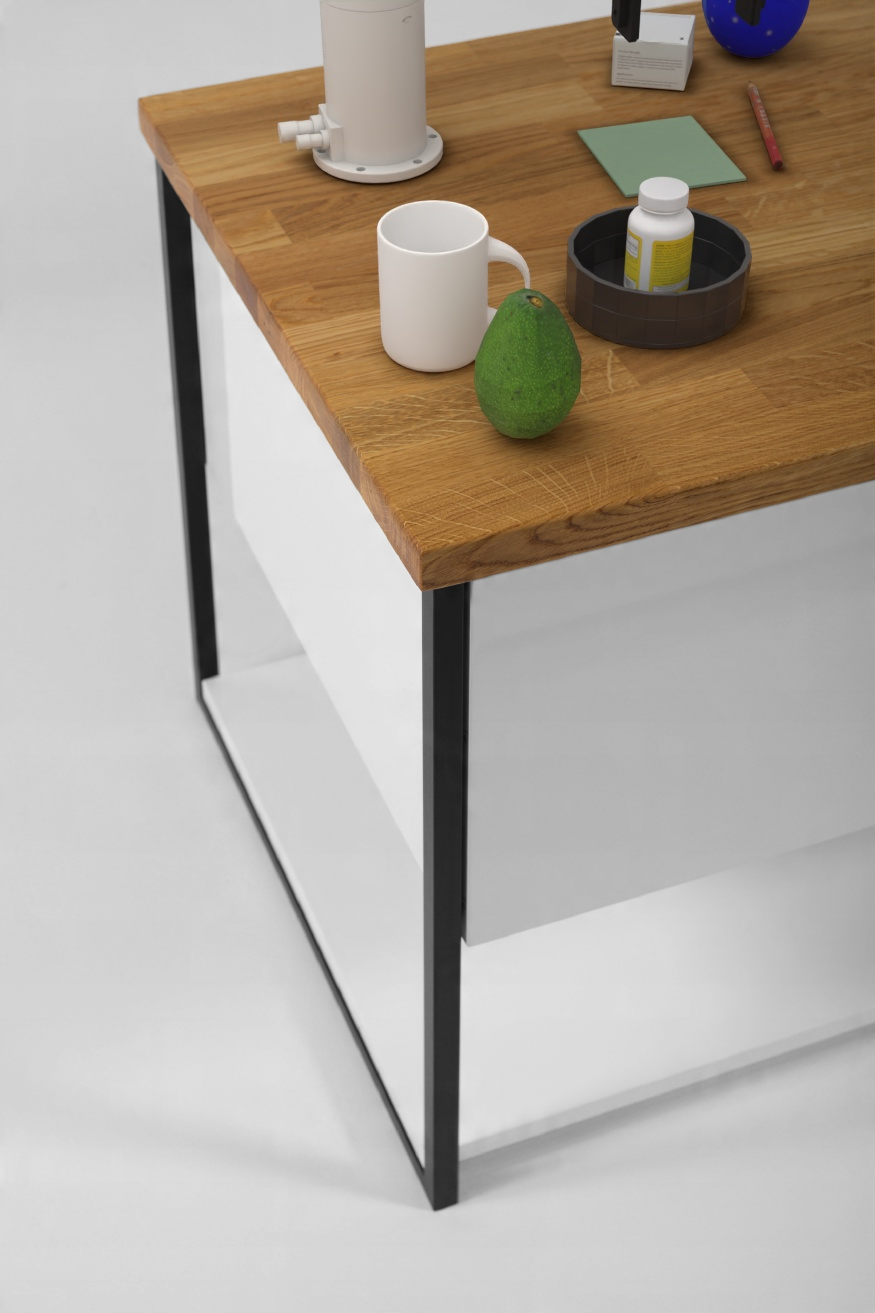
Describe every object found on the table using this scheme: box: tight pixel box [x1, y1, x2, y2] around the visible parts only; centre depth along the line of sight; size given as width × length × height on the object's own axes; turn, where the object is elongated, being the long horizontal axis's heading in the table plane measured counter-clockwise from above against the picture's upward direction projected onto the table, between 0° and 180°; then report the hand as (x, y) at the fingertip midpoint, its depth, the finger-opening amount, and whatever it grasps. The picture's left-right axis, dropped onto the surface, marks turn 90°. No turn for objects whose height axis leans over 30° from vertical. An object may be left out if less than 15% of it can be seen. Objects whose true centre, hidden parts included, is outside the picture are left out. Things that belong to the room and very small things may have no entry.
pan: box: [564, 204, 753, 350], centre depth 136 cm, size 15×15×5 cm
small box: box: [611, 11, 696, 92], centre depth 169 cm, size 8×8×5 cm
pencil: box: [747, 80, 785, 170], centre depth 161 cm, size 19×1×1 cm, turn 0°
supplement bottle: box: [623, 177, 694, 292], centre depth 134 cm, size 5×5×10 cm
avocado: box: [473, 287, 583, 440], centre depth 120 cm, size 8×8×12 cm
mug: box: [376, 199, 531, 373], centre depth 129 cm, size 9×12×11 cm
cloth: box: [576, 115, 747, 198], centre depth 157 cm, size 12×14×1 cm
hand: (687, 27), depth 123 cm, fingers open, 9 cm apart
